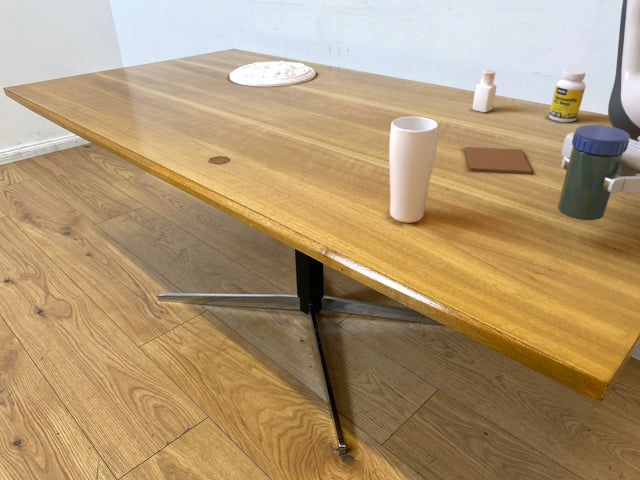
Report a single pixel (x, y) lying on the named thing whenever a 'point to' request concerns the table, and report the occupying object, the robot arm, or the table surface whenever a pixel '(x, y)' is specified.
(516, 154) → the coaster
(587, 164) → the jar
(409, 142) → the drinking glass
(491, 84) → the white corked bottle
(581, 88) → the pill bottle
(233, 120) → the table surface
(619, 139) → the lid
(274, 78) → the ceiling medallion
